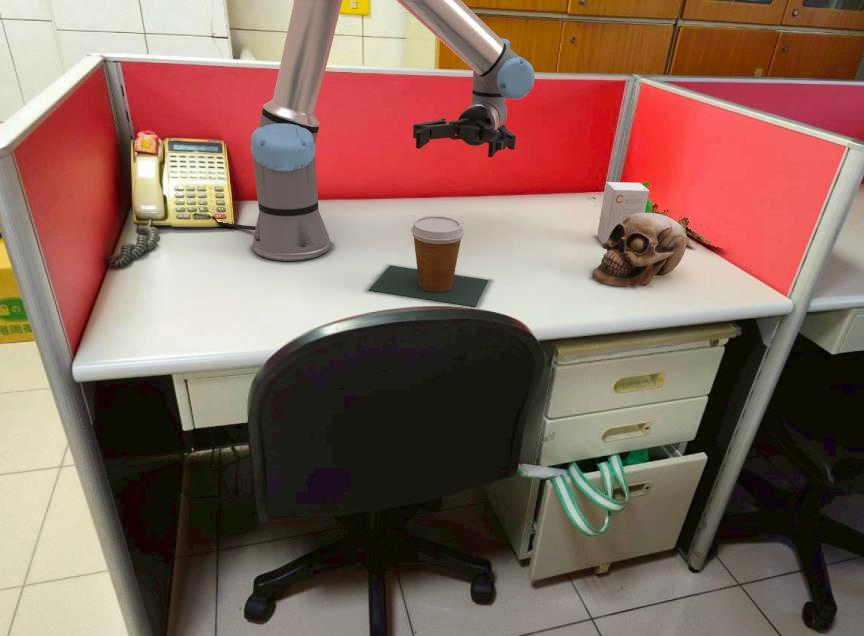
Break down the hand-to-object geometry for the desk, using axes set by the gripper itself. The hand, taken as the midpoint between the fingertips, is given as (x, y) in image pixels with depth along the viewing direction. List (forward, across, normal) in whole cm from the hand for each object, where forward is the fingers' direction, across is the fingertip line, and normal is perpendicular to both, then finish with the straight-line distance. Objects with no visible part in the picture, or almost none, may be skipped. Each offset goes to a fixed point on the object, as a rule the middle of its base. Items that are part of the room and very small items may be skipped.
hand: (453, 145), depth 114 cm
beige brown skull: (-10, -37, -24) cm, 45 cm away
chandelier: (-56, -39, -24) cm, 73 cm away
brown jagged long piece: (-36, -51, -24) cm, 67 cm away
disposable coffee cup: (+10, 0, -24) cm, 26 cm away
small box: (-28, -33, -24) cm, 50 cm away
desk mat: (+10, +1, -24) cm, 26 cm away
